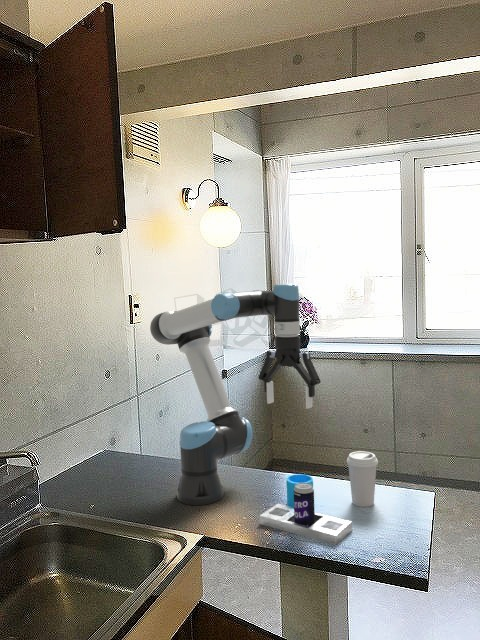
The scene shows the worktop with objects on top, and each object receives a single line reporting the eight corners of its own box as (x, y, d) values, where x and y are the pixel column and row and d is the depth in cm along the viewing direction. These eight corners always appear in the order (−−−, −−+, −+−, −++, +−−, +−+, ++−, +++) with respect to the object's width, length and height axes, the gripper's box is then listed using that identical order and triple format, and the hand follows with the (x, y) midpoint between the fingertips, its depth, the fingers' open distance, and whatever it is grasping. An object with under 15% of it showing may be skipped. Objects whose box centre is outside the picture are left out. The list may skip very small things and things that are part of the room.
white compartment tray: (259, 524, 161) (259, 515, 161) (278, 511, 169) (278, 503, 169) (336, 545, 147) (335, 535, 147) (352, 530, 155) (351, 521, 155)
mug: (305, 512, 168) (304, 485, 167) (282, 506, 173) (281, 480, 172) (323, 498, 178) (323, 473, 177) (301, 493, 183) (300, 468, 182)
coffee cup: (360, 511, 167) (359, 462, 166) (341, 500, 175) (339, 453, 174) (385, 504, 171) (384, 456, 170) (365, 494, 180) (364, 448, 178)
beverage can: (292, 523, 160) (291, 482, 159) (312, 522, 161) (310, 481, 160) (297, 532, 155) (295, 490, 154) (317, 530, 155) (316, 488, 154)
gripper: (246, 335, 172) (248, 403, 174) (318, 338, 157) (320, 412, 159) (259, 332, 178) (261, 398, 180) (330, 335, 163) (332, 407, 165)
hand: (289, 405), depth 169 cm, fingers open, 13 cm apart
